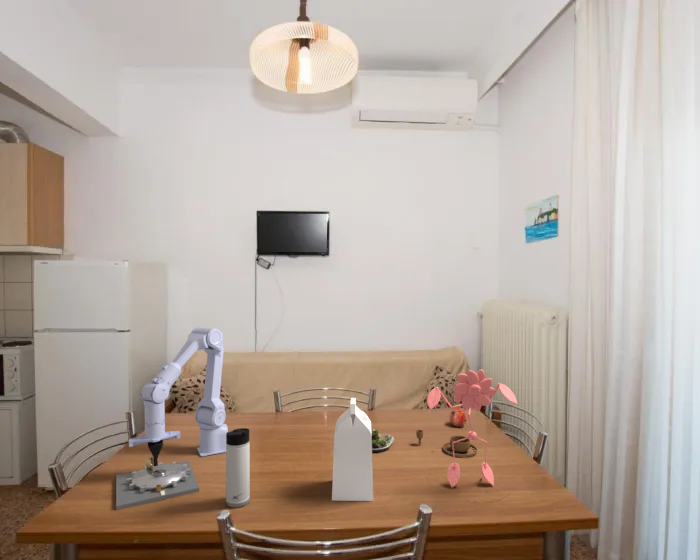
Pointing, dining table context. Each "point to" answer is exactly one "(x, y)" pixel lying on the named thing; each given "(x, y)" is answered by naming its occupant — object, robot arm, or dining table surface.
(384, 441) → the salad plate
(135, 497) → the timing board
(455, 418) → the pomegranate
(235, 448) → the travel mug
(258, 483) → the dining table surface
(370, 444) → the milk
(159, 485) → the sprocket
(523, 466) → the dining table surface
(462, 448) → the place setting
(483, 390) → the figurine
